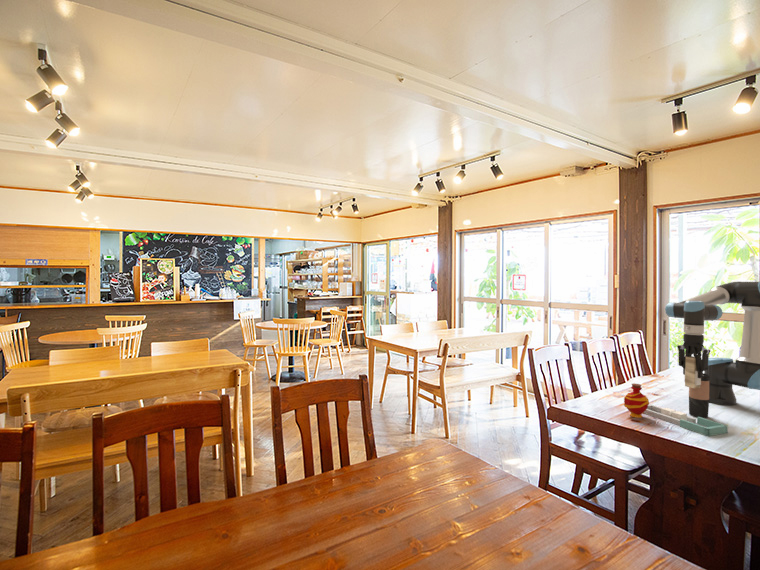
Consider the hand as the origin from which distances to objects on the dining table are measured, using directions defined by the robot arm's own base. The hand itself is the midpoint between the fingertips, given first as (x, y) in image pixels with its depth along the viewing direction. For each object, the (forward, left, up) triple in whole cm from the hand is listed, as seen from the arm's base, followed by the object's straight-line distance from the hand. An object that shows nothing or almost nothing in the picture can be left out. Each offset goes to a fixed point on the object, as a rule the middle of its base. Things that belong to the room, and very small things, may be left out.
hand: (692, 383), depth 188 cm
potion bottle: (+22, -10, -17) cm, 30 cm away
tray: (+10, +11, -17) cm, 22 cm away
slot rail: (+10, -5, -17) cm, 20 cm away
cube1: (+10, -4, -17) cm, 20 cm away
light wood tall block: (0, 0, -2) cm, 2 cm away
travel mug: (-7, -2, -17) cm, 18 cm away
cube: (+10, +1, -17) cm, 19 cm away
